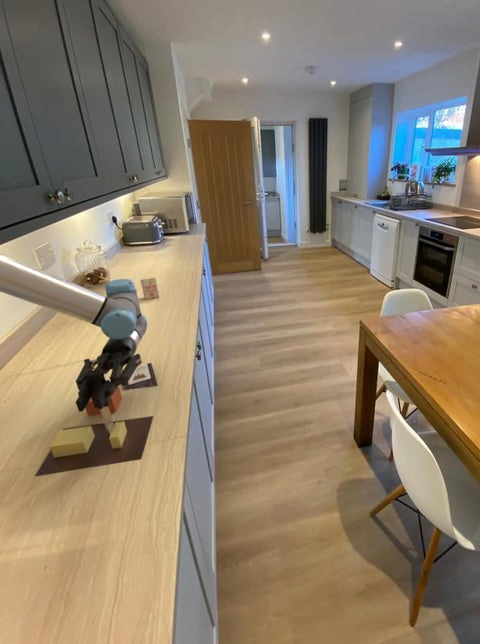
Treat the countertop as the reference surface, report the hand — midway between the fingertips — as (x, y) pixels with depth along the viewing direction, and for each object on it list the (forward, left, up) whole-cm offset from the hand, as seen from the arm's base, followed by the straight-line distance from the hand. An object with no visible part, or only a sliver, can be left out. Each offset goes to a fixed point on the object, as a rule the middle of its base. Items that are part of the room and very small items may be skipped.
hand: (89, 405), depth 68 cm
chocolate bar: (-9, +28, -18) cm, 34 cm away
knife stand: (-12, +16, -18) cm, 27 cm away
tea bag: (-42, +94, -18) cm, 105 cm away
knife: (-2, +5, -15) cm, 15 cm away
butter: (-10, +2, -16) cm, 19 cm away
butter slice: (-1, +5, -16) cm, 17 cm away
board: (-5, +4, -18) cm, 19 cm away
